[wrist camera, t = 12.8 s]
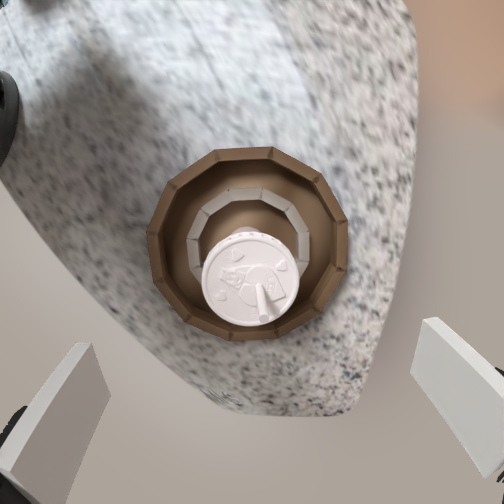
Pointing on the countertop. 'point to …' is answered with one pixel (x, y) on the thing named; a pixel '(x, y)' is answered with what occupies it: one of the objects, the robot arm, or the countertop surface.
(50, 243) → the countertop surface
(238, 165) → the tray
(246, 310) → the smoothie
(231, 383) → the countertop surface
